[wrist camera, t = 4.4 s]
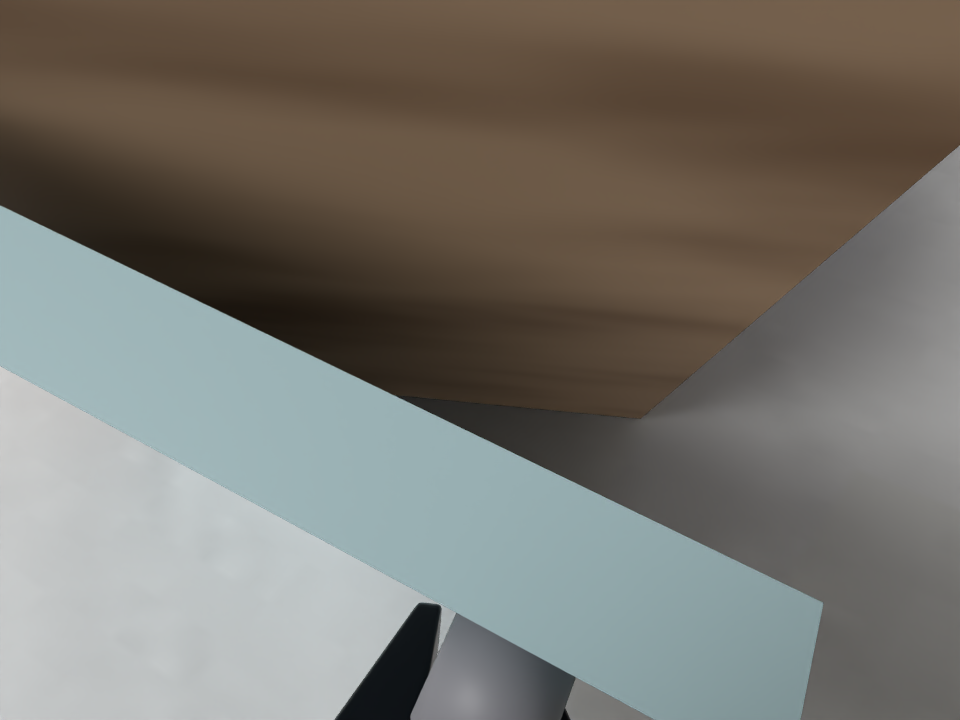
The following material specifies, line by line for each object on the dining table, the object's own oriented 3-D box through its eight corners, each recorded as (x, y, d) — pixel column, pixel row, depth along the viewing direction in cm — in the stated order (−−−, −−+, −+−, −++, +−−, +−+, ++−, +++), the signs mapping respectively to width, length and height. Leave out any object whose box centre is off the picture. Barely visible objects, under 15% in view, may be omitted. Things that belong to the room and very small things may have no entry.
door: (102, 434, 17) (-777, 100, 5) (150, 373, 18) (-501, -36, 6) (515, 659, 15) (736, 1035, 3) (547, 578, 16) (823, 601, 4)
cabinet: (640, 418, 18) (1230, -87, 4) (136, 370, 18) (-920, -277, 4) (635, 252, 21) (982, -391, 7) (195, 211, 21) (-337, -504, 7)
